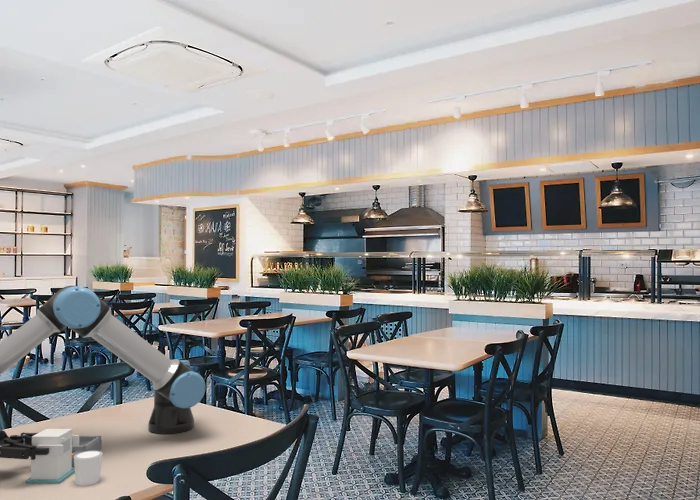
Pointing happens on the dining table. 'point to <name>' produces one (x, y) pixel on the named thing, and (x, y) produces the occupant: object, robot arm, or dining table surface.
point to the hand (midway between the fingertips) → (70, 445)
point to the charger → (52, 464)
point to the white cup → (87, 467)
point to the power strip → (86, 445)
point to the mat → (51, 480)
